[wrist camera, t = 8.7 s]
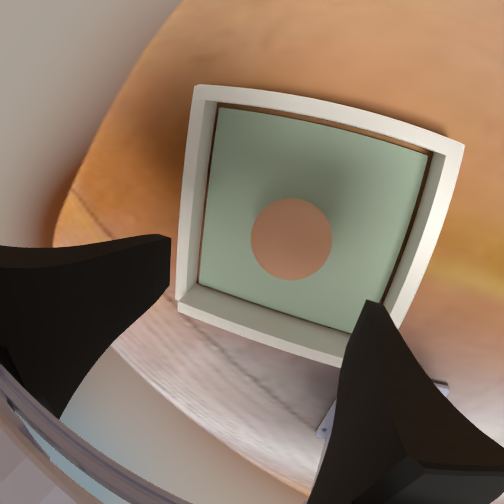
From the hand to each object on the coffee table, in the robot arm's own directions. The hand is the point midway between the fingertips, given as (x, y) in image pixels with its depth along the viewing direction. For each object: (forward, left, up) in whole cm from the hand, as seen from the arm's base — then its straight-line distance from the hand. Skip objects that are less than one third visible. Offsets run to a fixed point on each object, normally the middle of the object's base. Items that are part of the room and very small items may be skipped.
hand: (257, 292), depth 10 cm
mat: (0, 0, -8) cm, 8 cm away
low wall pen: (0, 0, -8) cm, 8 cm away
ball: (0, 0, -7) cm, 7 cm away
